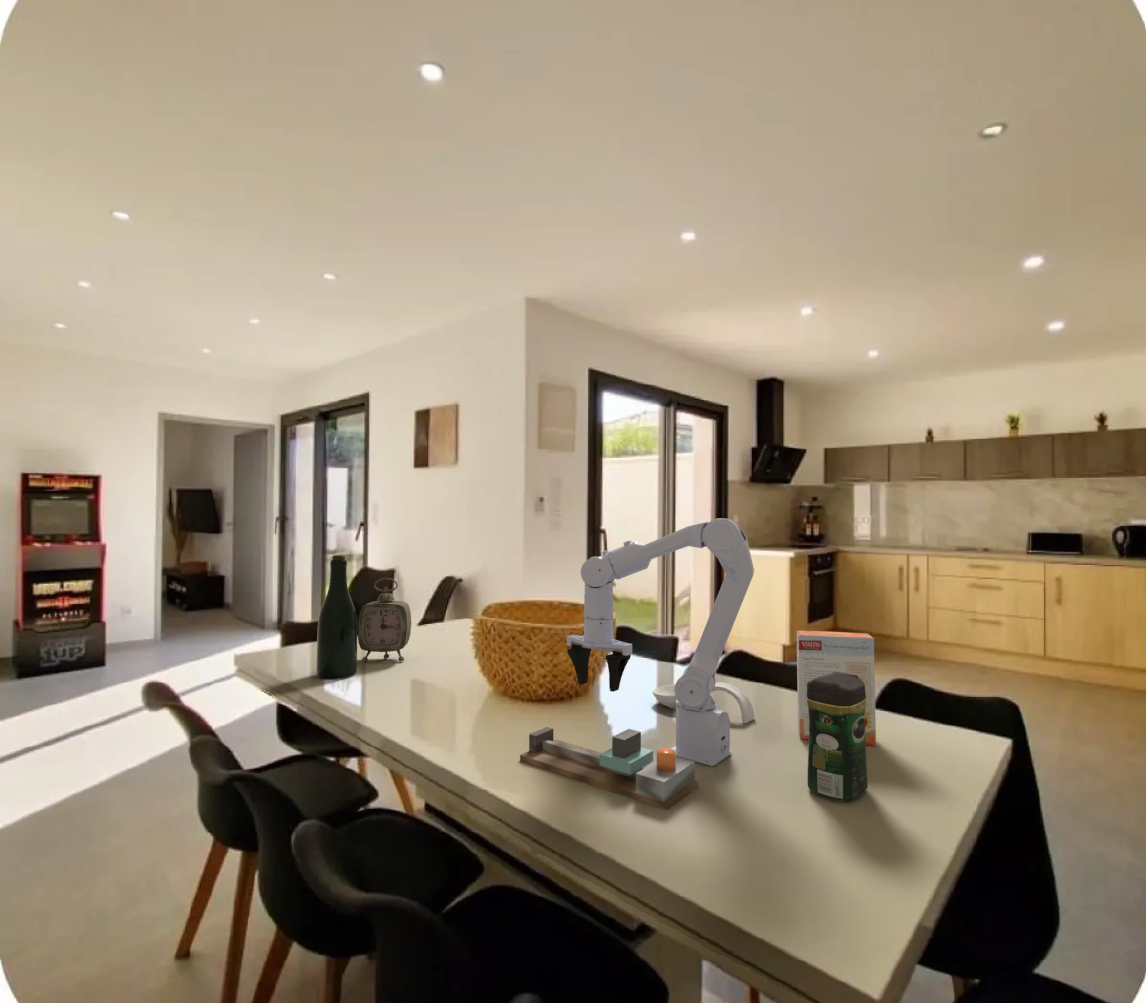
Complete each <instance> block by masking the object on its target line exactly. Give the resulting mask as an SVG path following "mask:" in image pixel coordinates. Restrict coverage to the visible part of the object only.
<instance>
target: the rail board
mask: <svg viewBox="0 0 1146 1003" xmlns="http://www.w3.org/2000/svg"><path fill="white" fill-rule="evenodd" d="M528 736H529V737H528V738H529V739H528V740H529V741H528V743H529V744H528V750H527V751H525V752H524V753H521V754H520V755H519V760H520V761H521V762H524V763H526V764H530V765H532V766H535V767H538V768H540V769H541V768H542V769H544V770H548V771H551V772H553V773H557V774H560V775H562V776H564V777H565V776H566V777H569V778H571V779H574V780H577V781H579V782H582V783H586V784H589V785H592V786H594V787H597V786H598V788H600V787H601V789H603V788H604V790H606V789H607V790H606V791H609V790H610V792H613V793H616V794H619V795H620V796H621V795H622V796H624V797H628V798H631V799H633V800H636V801H640V802H642V803H645V804H648V805H651V806H654V807H657V808H659V809H663V810H666V811H667V810H669V809H671V808H672V807H673V806H675V805H676V804H677V803H679V802H680V801H681V800H683V799H684V798H685V797H687V796H688V795H690V794H691V793H692V792H694V791H695V790H697V788H698V786H699V785H698V783H699V781H697V780H696V761H692V760H688V759H685V758H681V757H677V756H676V769H675V770H673V771H662V770H659V769H658V768H657V760H655V761H653V762H652V763H650V764H648V765H646V766H644V767H643V768H641V769H639V770H638V771H636V772H634V773H633V774H631V775H629V774H626V773H623V772H620V771H617V770H613V769H610V768H607V767H604V766H600V754H601V753H602V752H600V751H598V750H597V751H596V750H593V749H590V748H587V747H582V746H579V745H577V744H572V743H570V742H566V741H563V740H559V739H554V728H552V727H550V726H546V727H544V728H541V729H539V730H536V731H533V732H531V733H529V735H528Z"/></svg>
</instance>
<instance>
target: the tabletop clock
mask: <svg viewBox="0 0 1146 1003" xmlns="http://www.w3.org/2000/svg"><path fill="white" fill-rule="evenodd" d="M380 581H391V582H393V583H395V587H394V588H392V589H391V588H390V589H388V587H387V586H385V587H384V588H383V589H381V588H379V587H377V584H378V583H379V582H380ZM398 584H399V583H398V582H397V581H396V580H395V578H394V579H393V578H390V577H382V578H379V579H377V580H376V581H375V582H374V585H373V586H374V589H375V590H376V591H378V592H382V593H380V594H379V595H378V597H377V598H376V600H375V601H371V602H368V603H366V604H365V605H363V606H361V608H360V610H359V612H358V616H357V617H358V618H357V643H358V645H359V647H360V649H361V650H363V651H366V652H367V653H366V655H365V656H363V657H362V658H361V661H362V662H363V663H367V662H368V657H369V655H370V654H371V653H372V652H374V653H384V655H383V658H384V659H385V658H388V659H389V657H390V655H389V654H390V652H396V653H397V655H398V662H400V661H402V662H404V660H405V658H404V656H402V655H401V650H402V649H404V648H405V647H406V645H408V643H409V641H410V638H411V633H412V632H411V631H412V614H411V608H410V605H409V603H408V602H405V601H403V600H395V596H394V595H393V594H392V593H390V592H393V591H395V590H396V589H397V588H398V587H399V586H398ZM366 661H367V662H366Z"/></svg>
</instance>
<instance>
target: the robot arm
mask: <svg viewBox="0 0 1146 1003" xmlns="http://www.w3.org/2000/svg"><path fill="white" fill-rule="evenodd" d="M687 547H692V548H698V549H703V548H707V549H708V550H709V551H710V552H711V553H712V554H713V555H714V556H715V557H716V558H717V559H718V561H719V564H720V565H721V568H722V570H723V571H724V573H725V576H724V578H723V581H722V583H721V586H720V589H719V591H718V594H717V596H716V598H715V601H714V604H713V606H712V609H711V612H710V614H709V617H708V619H707V622H706V623H705V626H704V629H703V631H702V634H701V637H700V639H699V642H698V644H697V647H696V649H695V651H694V653H693V655H692V658H691V660H690V663H689V665H688V666H686V668H685V670H684V671H683V673H682V675H681V676H680V677H679V678H678V679H677V680H676V682H675V683H674V685H675V696H676V698H677V700H676V709H675V745H674V746H673V747H671V748H670V749H673V750H675V752H676V757H679V758H683V759H687V760H690V761H694V762H695V763H699V764H704V765H707V766H712V767H714V766H716V765H718V764H719V763H720V762H721V761H724V760H725V759H726V758H728V756H730V755H731V754H732V750H731V748H730V747H731V745H730V744H731V734H730V732H731V731H730V730H731V725H730V724H731V723H730V722H731V721H730V715H729V714H728V713H729V712H727V711H725V710H722V709H720V708H718V707H717V706H716V701H715V700H714V699H713V697H712V695H711V693H713V692H714V691H713V689H714V687H715V683H716V677H715V676H716V669H717V667H718V665H719V661H720V658H721V657H722V654H723V651H724V649H725V646H726V644H727V641H728V638H729V637H730V634H731V632H732V630H733V627H734V624H735V622H736V619H737V616H738V615H739V611H740V609H741V607H742V604H743V602H744V599H745V597H746V595H747V591H748V590H749V588H750V584H751V582H752V580H753V577H754V573H755V568H754V564H753V558H752V555H751V551H750V545H749V542H748V537H747V535H746V534H745V532H744V530H743V529H742V527H741V526H740V524H739V523H738V522H736V521H735V520H733V519H731V518H714V519H713V520H711V521H706V522H700V523H696V524H692V525H689V526H685V527H683V528H680V529H679V530H676V531H674V532H672V533H670V534H669V533H668V534H666V535H665V536H663V537H660V538H657V539H655V540H653V541H650V542H648V543H647V544H646V543H645V544H644V543H643V542H640V541H637V540H635V541H633V542H632V540H626V541H623V545H622V546H619V547H617V548H616V549H613V550H610V551H609V550H604V551H603V550H602V552H601V554H602V555H600V556H591V557H590V558H589V559H587V560H586V561H585V562H583V564H582V566H581V568H580V576H581V579H582V581H583V583H584V599H583V601H584V605H583V608H584V609H583V610H584V611H583V613H584V614H583V615H584V616H583V618H584V621H583V624H584V625H583V626H584V627H583V628H584V629H583V631H584V632H583V635H576V634H570V635H567V636H566V646H567V647H570V648H568V649H567V654H568V656H569V658H570V660H571V662H572V665H573V668H574V671H575V674H576V678H577V682H578V685H585V684H587V683H588V680H589V663H590V658H591V653H592V650H597V651H602V652H603V651H604V652H607V653H608V652H609V653H611V654H606V655H605V660H606V663H607V664H606V665H607V668H608V669H607V670H608V684H609V686H608V687H609V692H616V691H618V690H619V689H620V685H621V680H622V677H623V675H624V674H623V673H624V671H625V669H626V666H627V664H628V662H629V661H630V660H631V655H632V654H633V643H628V642H624V641H620V640H617V639H614V581H615V580H621V579H623V578H626V577H628V576H631V575H633V574H636V573H638V572H639V573H640V572H642V571H644V570H647V569H648V568H649V566H650V564H651V561H652V560H653V559H656V558H659V557H662V556H664V555H667V554H670V553H674V552H676V551H679V550H681V549H684V548H687ZM712 691H713V692H712Z"/></svg>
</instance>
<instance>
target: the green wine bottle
mask: <svg viewBox="0 0 1146 1003" xmlns="http://www.w3.org/2000/svg"><path fill="white" fill-rule="evenodd" d="M329 566H330V573H329V583H328V590H327V593H326V596H325V597H324V598H325V599H324V600H323V604H322V606H321V608H320V610H319V611H320V612H319V615H318V621H317V622H318V623H317V636H316V638H317V640H316V666H315V667H316V670H315V671H316V672H315V673H316V676H317V677H318V678H320V679H323V678H324V679H323V680H337V678H340V679H346V678H350V677H352V676H354V675H356V673H357V671H358V631H357V626H358V618H357V617H358V616H357V613H356V611H357V610H356V608H355V605H354V603H353V600H352V598H351V595H350V594H351V593H350V591H349V589H348V588H349V587H348V576H347V574H348V572H347V569H348V568H347V567H348V560H347V559H346V555H343V554H337V555H336V554H334V555H332V557H331V560H330V562H329ZM349 676H350V677H349ZM345 677H346V678H345Z"/></svg>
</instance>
